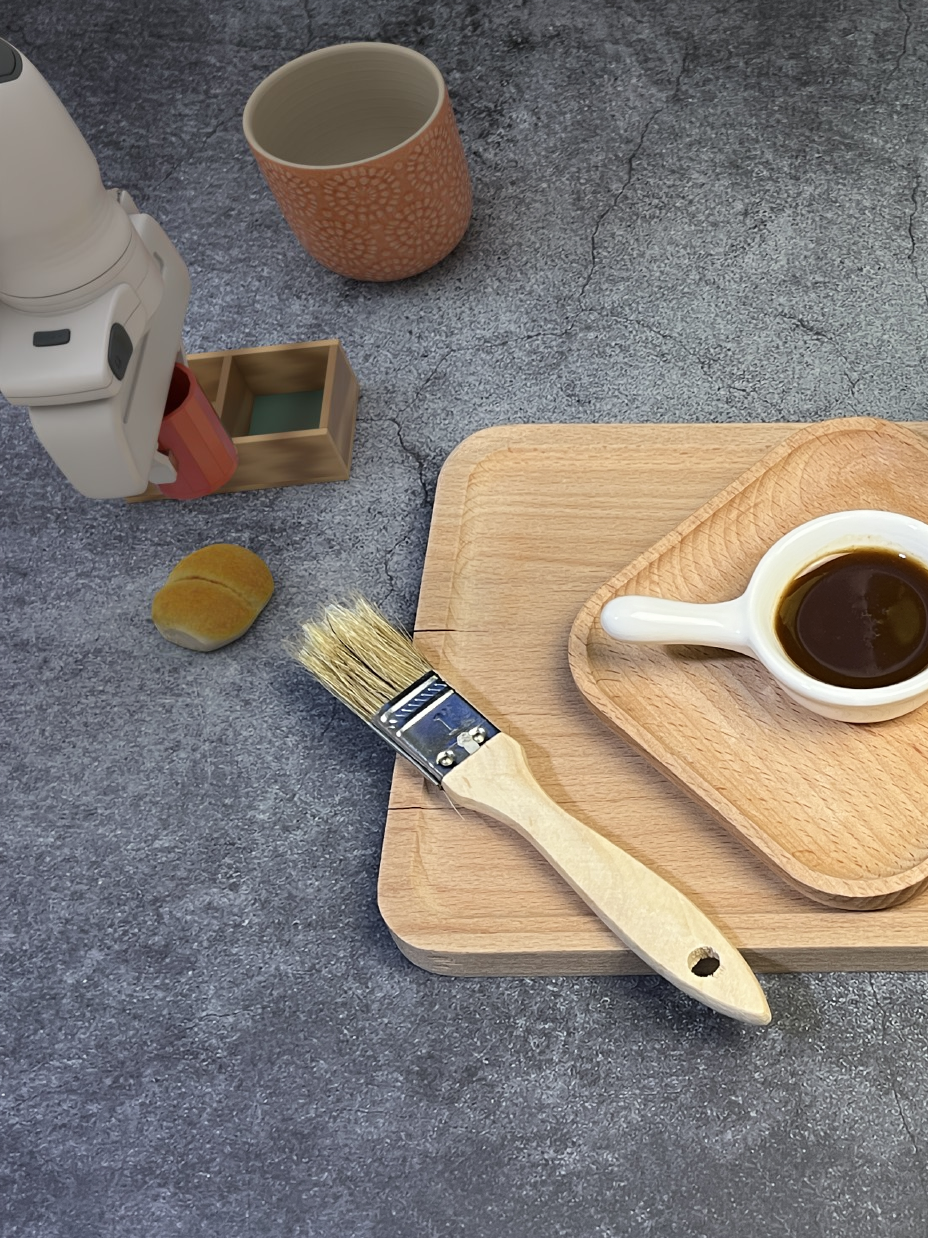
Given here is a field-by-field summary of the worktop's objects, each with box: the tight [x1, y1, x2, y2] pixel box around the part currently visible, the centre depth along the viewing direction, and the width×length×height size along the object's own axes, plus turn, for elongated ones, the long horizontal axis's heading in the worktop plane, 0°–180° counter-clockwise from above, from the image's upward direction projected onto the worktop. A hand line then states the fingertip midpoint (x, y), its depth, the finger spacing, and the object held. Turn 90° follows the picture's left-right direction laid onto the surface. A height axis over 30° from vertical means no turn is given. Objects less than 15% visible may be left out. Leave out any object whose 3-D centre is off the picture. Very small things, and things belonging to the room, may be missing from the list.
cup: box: [152, 362, 239, 501], centre depth 103 cm, size 6×6×8 cm
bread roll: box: [150, 543, 275, 652], centre depth 115 cm, size 8×9×4 cm
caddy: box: [123, 338, 361, 504], centre depth 124 cm, size 18×11×6 cm, turn 96°
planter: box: [242, 41, 473, 283], centre depth 133 cm, size 17×17×15 cm
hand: (175, 435), depth 103 cm, fingers closed on cup, 6 cm apart
